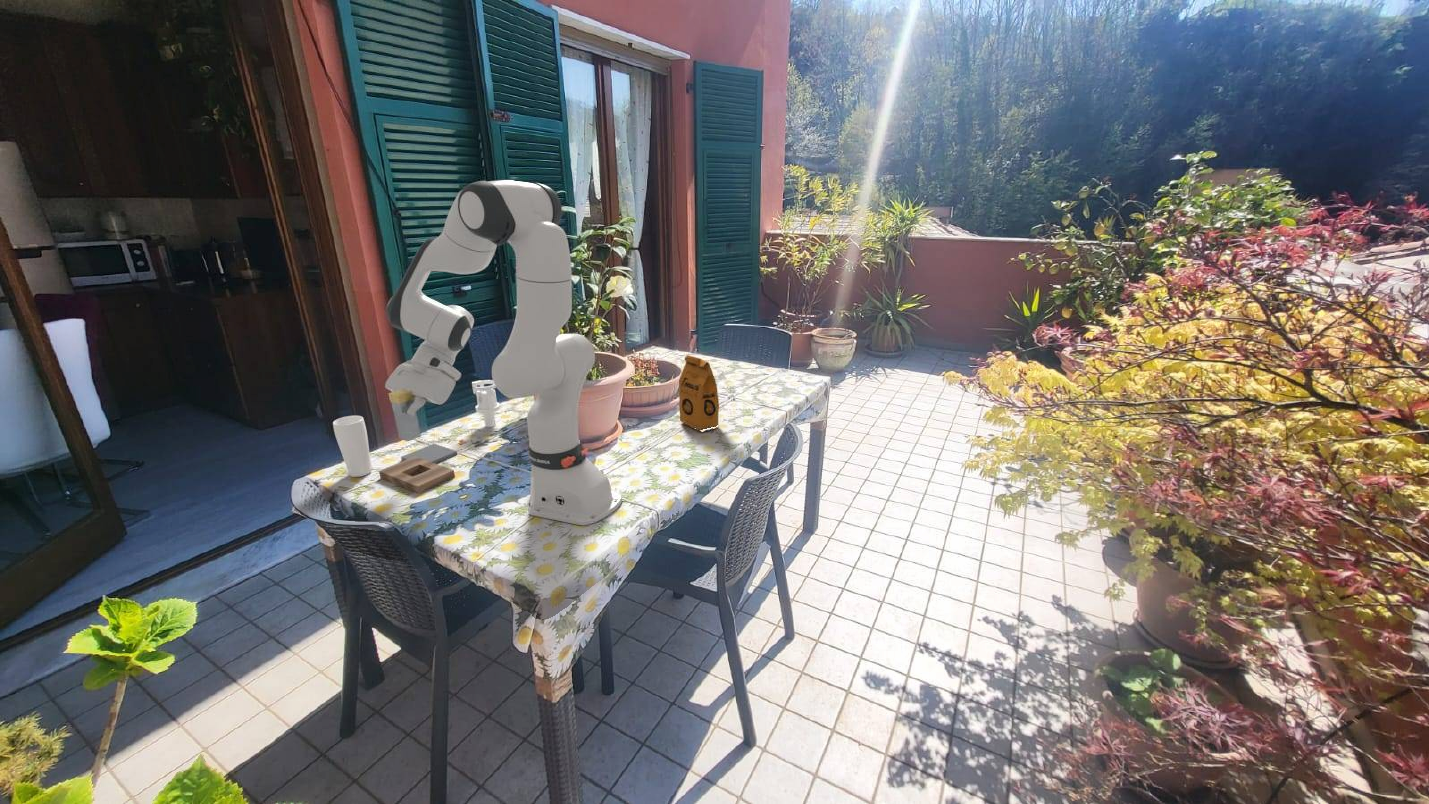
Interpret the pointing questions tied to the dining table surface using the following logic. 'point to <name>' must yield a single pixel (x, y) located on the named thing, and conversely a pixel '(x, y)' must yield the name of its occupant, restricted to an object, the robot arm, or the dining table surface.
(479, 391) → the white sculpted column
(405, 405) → the key peg
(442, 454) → the coaster
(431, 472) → the plate
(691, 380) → the coffee package
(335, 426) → the drinking glass
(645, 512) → the dining table surface
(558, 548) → the dining table surface
